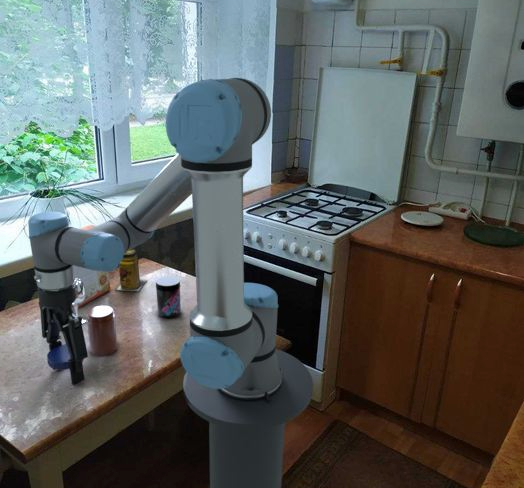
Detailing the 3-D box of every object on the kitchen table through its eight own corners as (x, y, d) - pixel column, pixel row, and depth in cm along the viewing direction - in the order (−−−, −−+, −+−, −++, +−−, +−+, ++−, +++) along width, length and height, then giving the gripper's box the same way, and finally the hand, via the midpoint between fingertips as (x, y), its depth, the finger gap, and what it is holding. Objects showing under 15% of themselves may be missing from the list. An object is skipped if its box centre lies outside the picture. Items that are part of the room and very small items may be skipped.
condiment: (115, 290, 155) (112, 254, 151) (125, 279, 163) (122, 245, 159) (138, 292, 155) (136, 256, 150) (146, 280, 162) (144, 246, 158)
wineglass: (93, 319, 138) (88, 280, 134) (77, 328, 133) (73, 288, 129) (77, 314, 140) (72, 275, 136) (61, 323, 135) (56, 283, 131)
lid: (41, 360, 112) (40, 353, 111) (72, 346, 117) (71, 339, 117) (59, 374, 107) (58, 367, 106) (91, 359, 113) (90, 352, 112)
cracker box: (96, 286, 158) (90, 223, 150) (111, 290, 155) (105, 227, 147) (62, 303, 146) (53, 237, 138) (77, 308, 143) (69, 241, 136)
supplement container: (156, 319, 139) (155, 286, 135) (157, 308, 145) (156, 276, 141) (181, 318, 140) (180, 285, 136) (181, 307, 146) (180, 275, 142)
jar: (122, 347, 125) (119, 310, 121) (100, 358, 120) (96, 320, 116) (107, 338, 129) (104, 302, 125) (84, 348, 124) (80, 311, 120)
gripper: (15, 275, 108) (30, 363, 117) (65, 306, 96) (77, 401, 105) (48, 266, 114) (59, 350, 122) (99, 293, 102) (108, 385, 110)
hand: (68, 374), depth 114 cm, fingers closed on lid, 8 cm apart
